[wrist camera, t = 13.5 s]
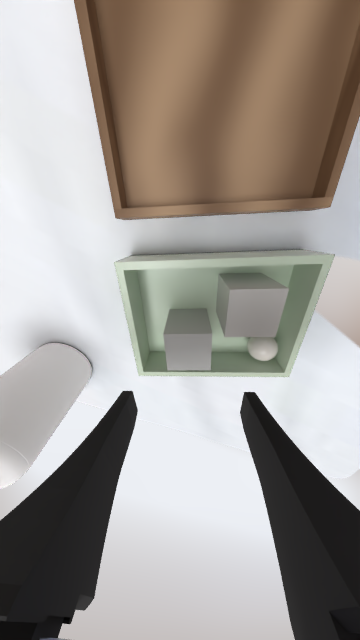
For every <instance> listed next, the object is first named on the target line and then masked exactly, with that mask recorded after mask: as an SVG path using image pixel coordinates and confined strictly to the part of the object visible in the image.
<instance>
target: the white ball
mask: <svg viewBox="0 0 360 640" xmlns="http://www.w3.org/2000/svg"><path fill="white" fill-rule="evenodd" d="M247 349H248V352H249V354H250V355H251V356H252V357H253V358H255V359H257V360H260V361H268V360H270V359H272V358H274V357H275V355H276V354H277V351H278V344H277V342H276V340H275V339H274V338H273V337H250V339H249V340H248V343H247Z"/></svg>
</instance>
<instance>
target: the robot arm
mask: <svg viewBox="0 0 360 640" xmlns="http://www.w3.org/2000/svg"><path fill="white" fill-rule="evenodd" d="M137 411H138V410H137V406H136V403H135V399H134V395H133V391H123V392H122V393H121V394H120V396H119V397H118V399H117V400H116V401H115V403H114V404H113V405H112V407H111V408H110V409H109V411H108V412H107V413H106V415H105V416H104V417H103V418H102V420H101V421H100V422H99V423H98V425H97V426H96V427H95V428H94V429H93V431H92V432H91V433H90V434H89V435H88V436H87V438H86V439H85V440H84V441H83V442H82V443H81V445H80V446H79V447H78V448H77V449H76V450H75V451H74V452H73V453H72V454H71V455H70V456H69V458H67V460H66V461H65V462H64V463H63V464H62V465H61V466H60V467H59V468H58V469H57V470H56V471H55V472H54V473H53V474H52V475H51V476H50V477H48V478H47V479H46V480H45V481H44V482H43V483H42V484H41V485H40V486H39V487H38V488H37V489H36V490H35V491H33V493H31V494H30V495H29V496H28V497H27V498H26V499H25V500H24V501H22V502H21V503H20V504H19V505H18V506H17V507H16V508H15V509H14V510H12V511H11V512H10V513H9V514H8V515H6V516H5V517H4V518H3V519H2V520H1V521H0V640H67V639H59V638H58V635H59V632H60V629H61V626H62V623H64V624H71V622H72V618H73V615H74V612H75V610H85V609H86V608H87V607H88V606H89V605H90V603H91V602H92V600H93V599H94V596H95V590H96V584H97V579H98V574H99V568H100V563H101V557H102V552H103V547H104V542H105V537H106V533H107V528H108V523H109V518H110V514H111V509H112V504H113V500H114V496H115V491H116V487H117V483H118V479H119V475H120V472H121V468H122V465H123V462H124V459H125V456H126V452H127V449H128V446H129V443H130V440H131V436H132V433H133V430H134V426H135V421H136V416H137ZM240 414H241V419H242V424H243V428H244V432H245V435H246V438H247V442H248V445H249V448H250V451H251V454H252V457H253V460H254V464H255V466H256V470H257V473H258V476H259V480H260V483H261V486H262V491H263V495H264V499H265V503H266V507H267V512H268V516H269V520H270V525H271V529H272V533H273V538H274V543H275V548H276V552H277V557H278V562H279V566H280V571H281V576H282V581H283V586H284V591H285V596H286V601H287V606H288V611H289V617H290V622H291V626H292V630H293V634H294V637H295V640H360V511H359V510H358V509H357V508H356V507H355V506H354V505H353V504H352V503H351V502H350V501H349V500H348V499H346V497H345V496H344V495H343V494H342V493H340V492H339V491H338V490H337V489H336V488H335V487H334V486H333V485H332V484H331V483H330V482H329V481H328V480H327V479H326V478H325V477H324V476H323V474H322V473H321V472H320V471H319V470H318V469H317V468H316V467H315V466H314V465H313V464H312V463H311V462H310V461H309V460H308V459H307V457H306V456H305V455H304V454H303V453H302V452H301V451H300V450H299V448H298V447H297V446H296V445H295V444H294V443H293V441H292V440H291V439H290V438H289V437H288V436H287V434H286V433H285V432H284V431H283V429H282V428H281V427H280V426H279V424H278V423H277V422H276V421H275V419H274V418H273V417H272V415H271V414H270V413H269V411H268V410H267V409H266V407H265V406H264V405H263V403H262V402H261V400H260V399H259V398H258V396H257V395H256V393H255V392H244V396H243V401H242V406H241V411H240Z"/></svg>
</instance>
